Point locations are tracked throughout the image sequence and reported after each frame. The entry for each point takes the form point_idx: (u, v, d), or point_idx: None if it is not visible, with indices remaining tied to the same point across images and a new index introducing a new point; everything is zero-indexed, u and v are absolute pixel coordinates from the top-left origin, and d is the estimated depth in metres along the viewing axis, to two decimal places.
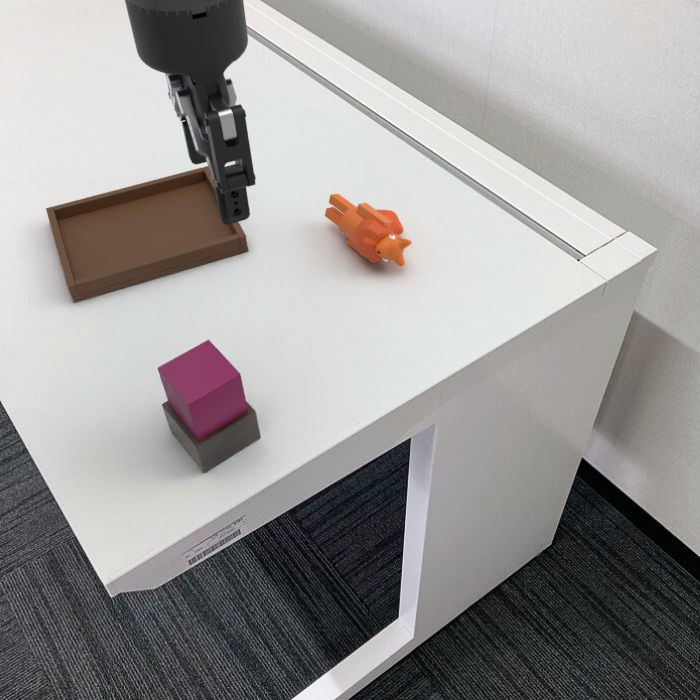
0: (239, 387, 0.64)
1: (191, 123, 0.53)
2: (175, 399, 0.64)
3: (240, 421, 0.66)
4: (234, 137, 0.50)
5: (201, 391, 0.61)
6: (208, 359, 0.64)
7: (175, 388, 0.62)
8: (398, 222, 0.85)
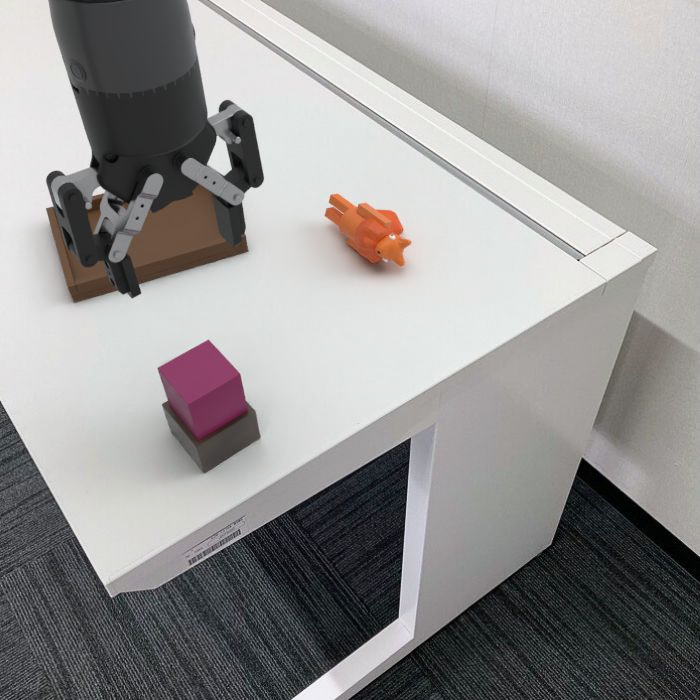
0: (239, 387, 0.64)
1: None
2: (175, 399, 0.64)
3: (240, 421, 0.66)
4: (62, 210, 0.47)
5: (201, 391, 0.61)
6: (208, 359, 0.64)
7: (175, 388, 0.62)
8: (398, 222, 0.85)
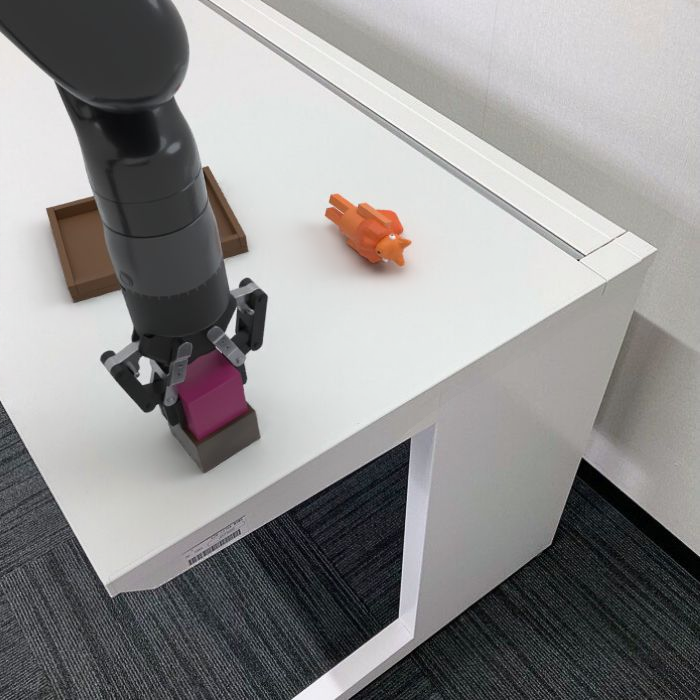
0: (239, 387, 0.64)
1: None
2: None
3: (240, 421, 0.66)
4: None
5: (201, 391, 0.61)
6: (208, 359, 0.64)
7: None
8: (398, 222, 0.85)
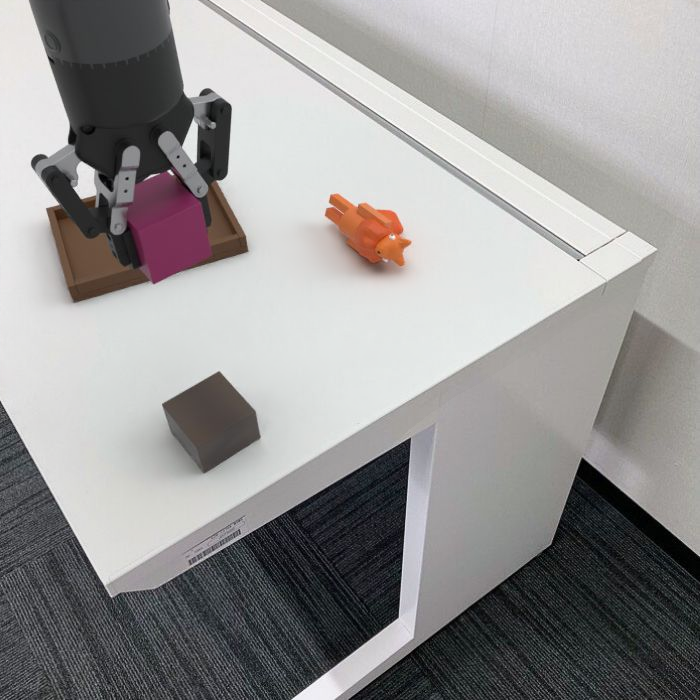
0: (200, 221, 0.55)
1: None
2: None
3: (240, 421, 0.66)
4: None
5: (154, 219, 0.53)
6: (164, 189, 0.55)
7: None
8: (398, 222, 0.85)
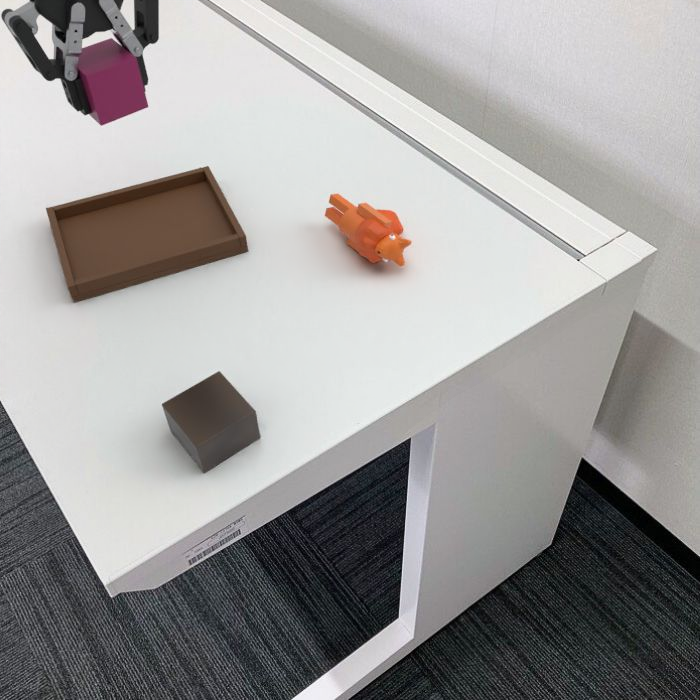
0: (137, 74, 0.70)
1: None
2: None
3: (240, 421, 0.66)
4: (18, 38, 0.64)
5: (99, 68, 0.68)
6: (108, 49, 0.70)
7: None
8: (398, 222, 0.85)
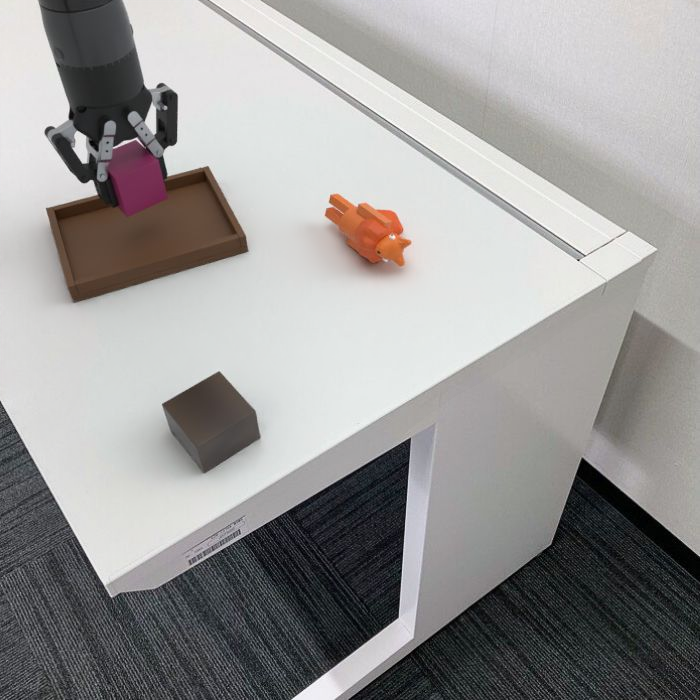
0: (158, 173, 0.81)
1: None
2: None
3: (240, 421, 0.66)
4: None
5: (126, 170, 0.79)
6: (134, 151, 0.81)
7: None
8: (398, 222, 0.85)
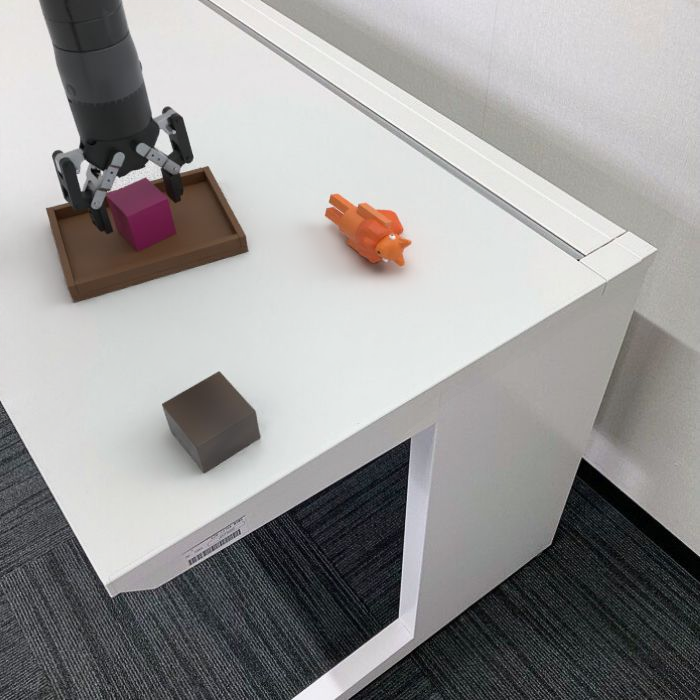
0: (167, 210, 0.85)
1: None
2: (119, 219, 0.85)
3: (240, 421, 0.66)
4: (61, 174, 0.76)
5: (137, 208, 0.82)
6: (144, 189, 0.85)
7: (118, 207, 0.83)
8: (398, 222, 0.85)
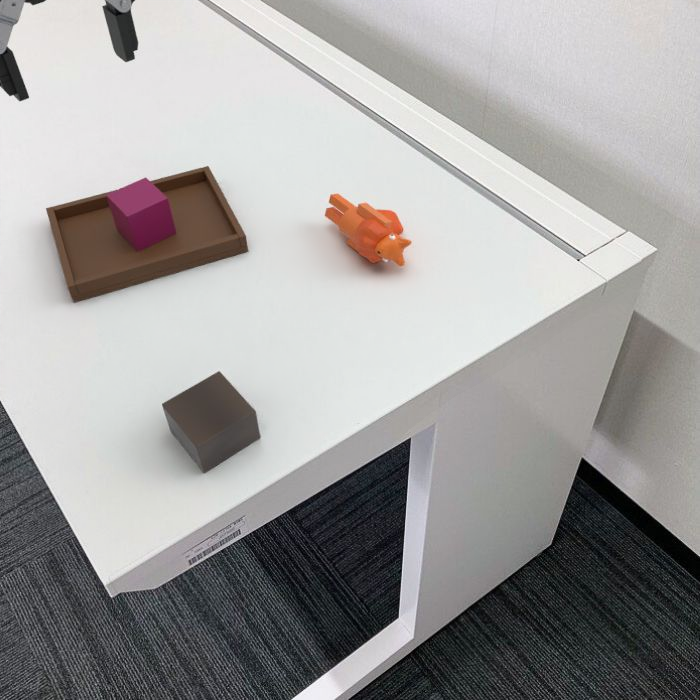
0: (167, 210, 0.85)
1: None
2: (119, 219, 0.85)
3: (240, 421, 0.66)
4: None
5: (137, 208, 0.82)
6: (144, 189, 0.85)
7: (118, 207, 0.83)
8: (398, 222, 0.85)
